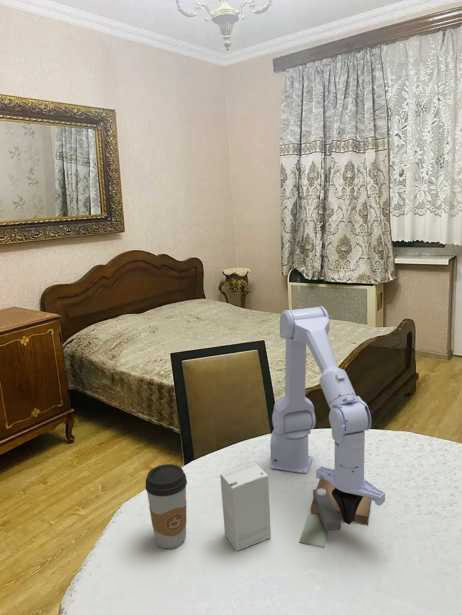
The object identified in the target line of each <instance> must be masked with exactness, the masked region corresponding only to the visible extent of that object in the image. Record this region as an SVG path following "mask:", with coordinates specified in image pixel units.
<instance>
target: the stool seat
mask: <svg viewBox="0 0 462 615" xmlns="http://www.w3.org/2000/svg"><path fill="white" fill-rule="evenodd" d="M324 488H327V490H328V493H329V495H330V497H331V500H332V502H333V504H334V506H335V509H336V511H337V513H338V516H339V518H340V520H341V521H343V518H342V515H341V512H340V509H339V506H338V504H337V502H336V500H335V499H334V497H333V496H332V491H333V490H334V489H335V487H334V486H333V485H332V484H331V483H330V482H328V481H327V480H324V479H321V480H320V479H318V483H317V486H316V489H324ZM371 503H372V500H370V499H368V498H366V497H363V498H362V500H361V502H360V504H359V506H358V508H357V511H356V514H355V518H354V521H353V522H352V523H356V524H361V525H368V524H369V517H370V510H371V505H372V504H371ZM328 535H329V532H326V530H325V527H324V524H323V522H322V519H321V516H320V514H319V511H318V508H317V506H316V503H315V501H314V498H313V497H312V502H311V505H310V513H307V517H306V520H305V522H304V527H303V528H302V531H301V535H300V538H299V541H298V543H299V544H304V545H309V546H313V547H318V548H323V549H325V545H326V542H327V537H328Z"/></svg>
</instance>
